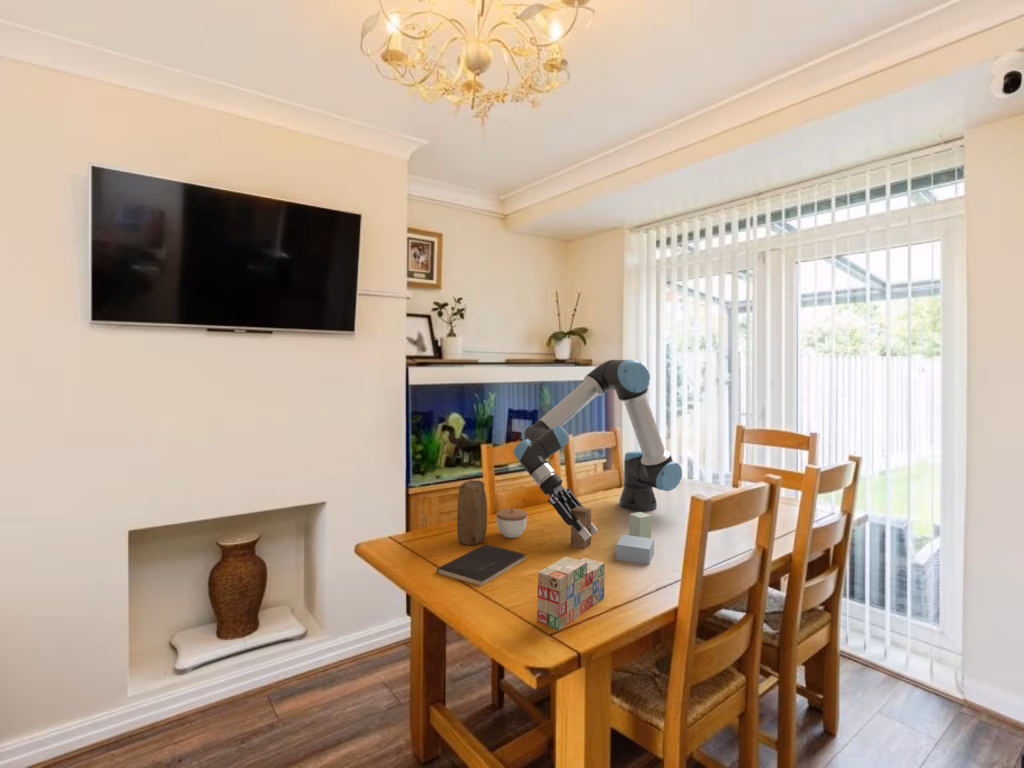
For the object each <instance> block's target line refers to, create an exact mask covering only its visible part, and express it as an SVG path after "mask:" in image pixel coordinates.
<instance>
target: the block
mask: <svg viewBox="0 0 1024 768" xmlns="http://www.w3.org/2000/svg"><path fill="white" fill-rule="evenodd" d="M456 514H457V515H456V516H457V517H456V531H457V533H456V535H457V541H458V543H460V544H463V545H466V546H473V545H479V544H480V543H482V542H483V540H484V538H485V537H486V536H485V535H486V532H487V527H488V525H487V524H488V522H487V521H488V502H487V495H486V491H485V484H484V481H481V480H473V479H471V480H470V479H469V480H467V481H464V482H462V483H461V484H460V485H459V486H458V496H457V510H456Z"/></svg>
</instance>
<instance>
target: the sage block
mask: <svg viewBox="0 0 1024 768" xmlns="http://www.w3.org/2000/svg"><path fill="white" fill-rule="evenodd" d="M628 528H629V530H628V531H629V532H628V533H629V534H628V535H630V536H638V537H645V538H652V534H651V533H652V515H651V514H648V513H644V512H643V511H637V512H633V513H629V527H628Z"/></svg>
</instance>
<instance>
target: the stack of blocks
mask: <svg viewBox="0 0 1024 768" xmlns="http://www.w3.org/2000/svg"><path fill="white" fill-rule="evenodd" d="M605 576H606V575H605V562H602V561H598V560H594V559H591V558H587V557H582V558H581V559H576V558H573V557H569V556H565V557H562V558H561V559H559V560H557V561H556V562H554V563H552V564H551V565H550V564H549V565H548V566H547V567H545V568H543V569H541V570H539V571H538V572H537V611H536V613H537V615H536V616H537V619H536V620H537V623H540V624H542V625H544V626H548V627H550V628H552V629H555V630H558V631H560V630H562V629H563V628H565V626H567V625H569V624H570V623H572V622H573V621H575V620H576V619H577V618H579V617H580V616H581V615H582V614H584V613H585V612H586V611H587V610H589V609H590V608H592V607H593V606H594V605H596V604H597V603H598V602H600V601H601V600H603V599H604V598H605V583H606V582H605V579H606V578H605Z"/></svg>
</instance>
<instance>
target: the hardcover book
mask: <svg viewBox="0 0 1024 768" xmlns="http://www.w3.org/2000/svg"><path fill="white" fill-rule="evenodd" d="M527 554H528V553H527ZM527 554H526V553H523V552H520V551H515V550H511V549H508V548H502V547H498V546H496V545H495V546H494V545H491V544H487V543H485V544H483V545H480V546H479V547H477V548H475V549H473V550H470V551H469V552H467V553H464V554H463V555H461V556H459V557H457V558H455V559H453V560H451V561H449V562H447V563H444V564H442V565H441V566H439V567H437V569H436V572H437V573H436V574H440V575H443V576H447V577H451V578H454V579H457V580H460V581H464V582H467V583H469V584H470V583H471V584H473V585H478V586H479V587H480V586H481V587H482V586H484V585H485V584H486V585H487V583H489V582H490V581H492V580H494V579H495V578H498V576H499V577H500V576H501V575H502V574H504V573H505V572H507V571H509V570H510V569H512V568H514V567H515V566H517V565H519V564H521V563H522V562H524V561H525V560H526V556H528V555H527Z"/></svg>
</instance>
